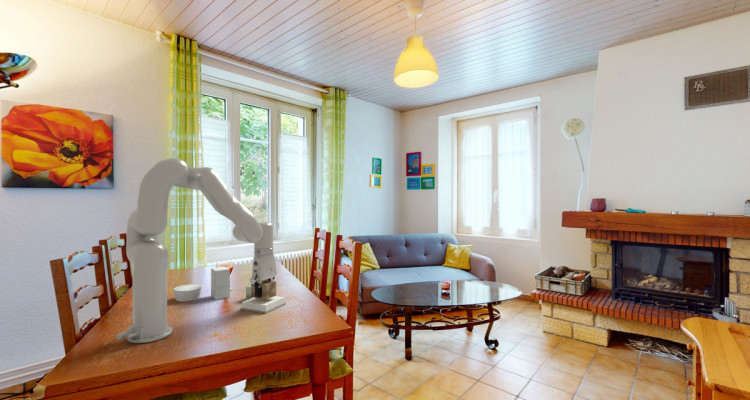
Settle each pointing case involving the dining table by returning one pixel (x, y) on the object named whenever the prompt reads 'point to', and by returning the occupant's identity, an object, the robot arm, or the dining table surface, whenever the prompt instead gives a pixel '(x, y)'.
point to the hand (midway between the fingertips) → (263, 294)
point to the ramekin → (187, 292)
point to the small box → (220, 282)
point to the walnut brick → (265, 289)
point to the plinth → (263, 304)
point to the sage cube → (248, 292)
